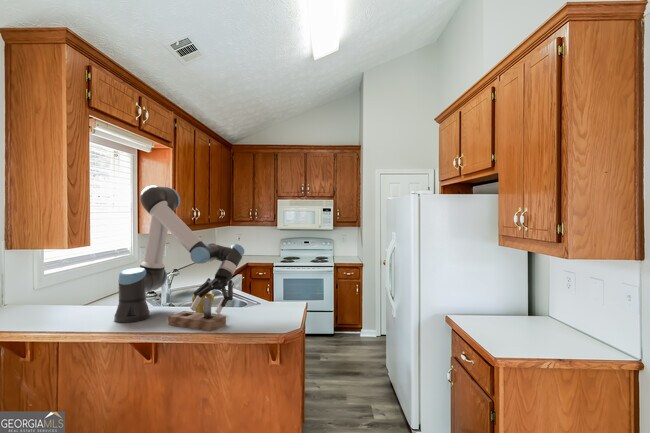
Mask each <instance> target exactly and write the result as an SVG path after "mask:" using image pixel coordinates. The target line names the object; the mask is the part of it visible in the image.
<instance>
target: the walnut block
mask: <svg viewBox="0 0 650 433" xmlns="http://www.w3.org/2000/svg"><path fill="white" fill-rule="evenodd" d="M167 318H168V319H167V320H168V322H167V323H168V326H174V327H180V328H181V327H182V328H187V329H193V330H202V331H207V332H208V331H209V332H212V331H215V330H218V329H220V328H222V327H224V326H226V325H227V316H226V315H221V314H212V313H211V319H204V313H198V312H195V311H189V310H182V311H180V312H179V311H178V312H176V313H173V314H171V315H168V316H167Z"/></svg>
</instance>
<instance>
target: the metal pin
mask: <svg viewBox="0 0 650 433" xmlns="http://www.w3.org/2000/svg"><path fill="white" fill-rule="evenodd" d="M203 303H204V319H211V314H212V307H211V297H209V296H208V297H203Z"/></svg>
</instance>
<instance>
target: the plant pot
mask: <svg viewBox="0 0 650 433" xmlns="http://www.w3.org/2000/svg"><path fill="white" fill-rule="evenodd" d="M208 296H209V297H211V308H212V306H213V303H214V301H215V294H214V293H210V292H208V293H207V294H205V295H204V296H202V297H201V300H200V302H199V304H198V306H197V308H196V309H195V311H194V312H198V313H204V303H203V297H208ZM195 297H196V296H195V295H194V294H193V295H192V297H191V300H192V302H191V303H192V304H193V300H194V298H195Z"/></svg>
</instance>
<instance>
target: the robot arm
mask: <svg viewBox="0 0 650 433" xmlns="http://www.w3.org/2000/svg"><path fill="white" fill-rule="evenodd" d="M139 199H140V204H141V205H142V208H144V210H145V211H146V212H147V213H148V214H149V215H150V216H151V220H150V225H149V231H148V236H147V242H146V248H145V255H144V260H143V261H142V262H141V263H140V266H139V267H132V268H127V269H123V270H121V271H120V272H119V275H118V280H117V281H118V305H117V308H116V310H115V311H116V312H115V313H114V320H113V321H114V322H117V323H133V322H140V321H143V320H147V319H149V318H150V317H151V315H150V314H151V311H150V310H149V305H148V302H147V293H149V292H152V291H156V290H158V289H160V288H162V287H164V285H165V284H166V283H167V280H168V273H167V271H166V269H165V268H166V267H165V266H166V265H165V264H164V262H163V260H164V255H165V250H166V249H165V248H166V244H167V237H168V232H169V233H171V235H172V236H173V237H175V239H176V240H177V241H178V242H179V243H180V244H181V245H182V246H183V247H184V248H185V250H187V251H188V253H190V255H189V256H190V259H191V261H192V262H193V263H195V264H198V265H199V264H206V263H208V262H211V261H217V262H221V263H220V265H219V267H218V269H217V271H216V272H215V274H214V278H213V279H211V278H210V277H208V278H207V279H206V281H205V282H204V283H202V285H200V286H199V287H198V288H197V289H196V290H194V291H193V295H195V296H196V297H195V298H194V300H193V303H192V304H191V306H190V309H191V311H192V312H195V309H196V308H197V306H198V304H199V302H200V300H201V297H202V296H204V295H205V294H207V293H210V292H211V291H215V290H217V291H218V290H219V291H221V292H222V296H223V297H222V298H221V299H220V301H219V303H218V304H217V306H216V308H215V312H216V315H221V312H222V310H223V308H225V306H226V305H227V303H228V302H229V301H233V296H234V295H233V294H234V288H233V287H234V284H235V283H234V281H233V280H232V278H233V275H234V274H235V272H236V270H237V268H238V266H239V265H240V263H241V260H242V259H243V256H244V255H245V249H244V247H243V246H242V245H241V244H238V243H233V244H231V245H230V247H229V246H223V245H220V244H215V243H210V242H206V243H204V242H203V241H202V240H201V239H200V238H199V237H198V236H197V235H196V233H195V232H193V230H192V229H190V227H189V226H188V225H187V224H186V223H185V222H184V221H183V219H181V218H180V217H179V216H178V215H177V214H176V213H175V210H176V209H177V208H178V207H179V206H180V204H181V197H180V195H179V193H178V191H176V190H175V189H174V188H172V187H168V186H167V187H166V186H159V185H150V186H149V185H148V186H146V187H145V188H144V189H143V190H142V191H141V193H140V196H139ZM226 287H227V289H226Z"/></svg>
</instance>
